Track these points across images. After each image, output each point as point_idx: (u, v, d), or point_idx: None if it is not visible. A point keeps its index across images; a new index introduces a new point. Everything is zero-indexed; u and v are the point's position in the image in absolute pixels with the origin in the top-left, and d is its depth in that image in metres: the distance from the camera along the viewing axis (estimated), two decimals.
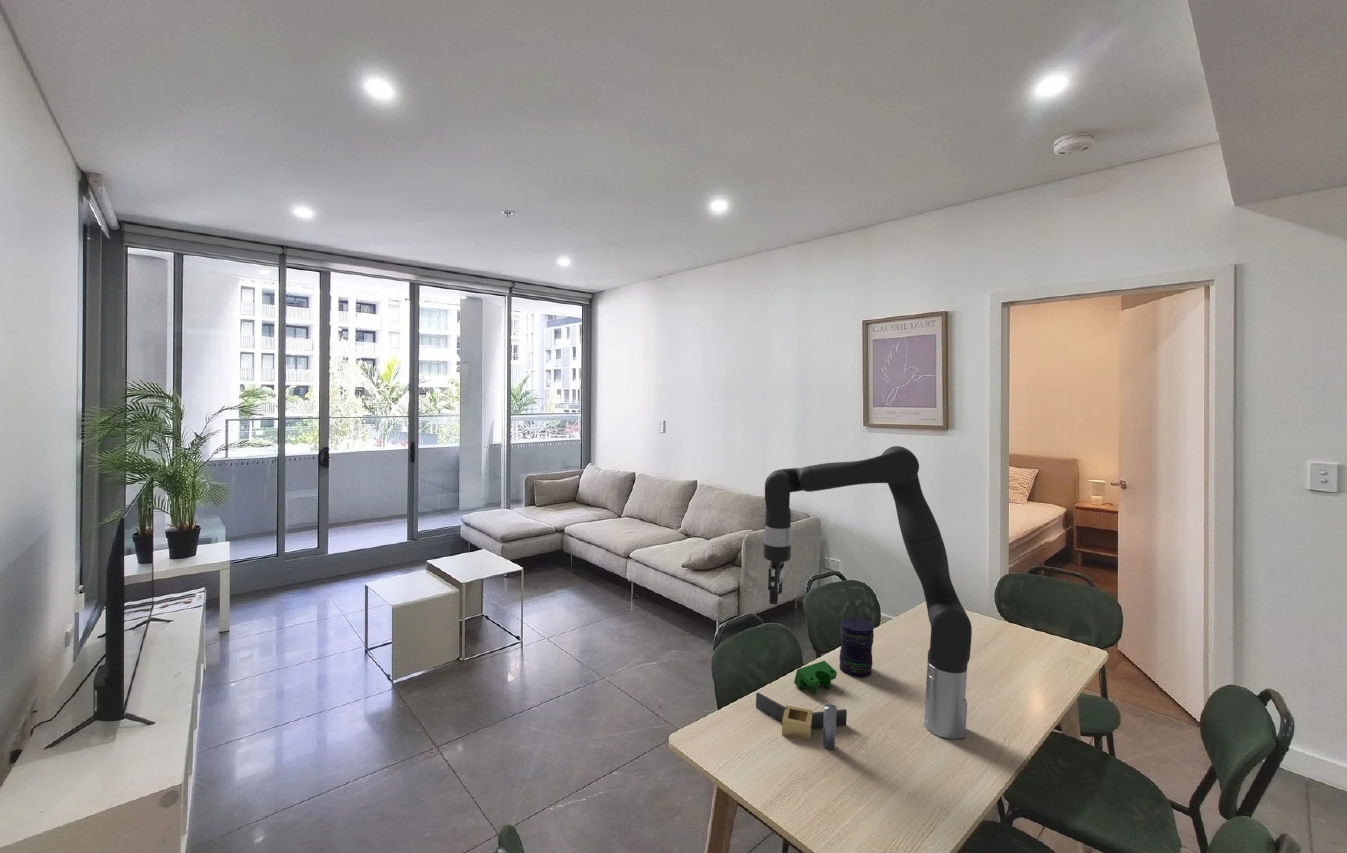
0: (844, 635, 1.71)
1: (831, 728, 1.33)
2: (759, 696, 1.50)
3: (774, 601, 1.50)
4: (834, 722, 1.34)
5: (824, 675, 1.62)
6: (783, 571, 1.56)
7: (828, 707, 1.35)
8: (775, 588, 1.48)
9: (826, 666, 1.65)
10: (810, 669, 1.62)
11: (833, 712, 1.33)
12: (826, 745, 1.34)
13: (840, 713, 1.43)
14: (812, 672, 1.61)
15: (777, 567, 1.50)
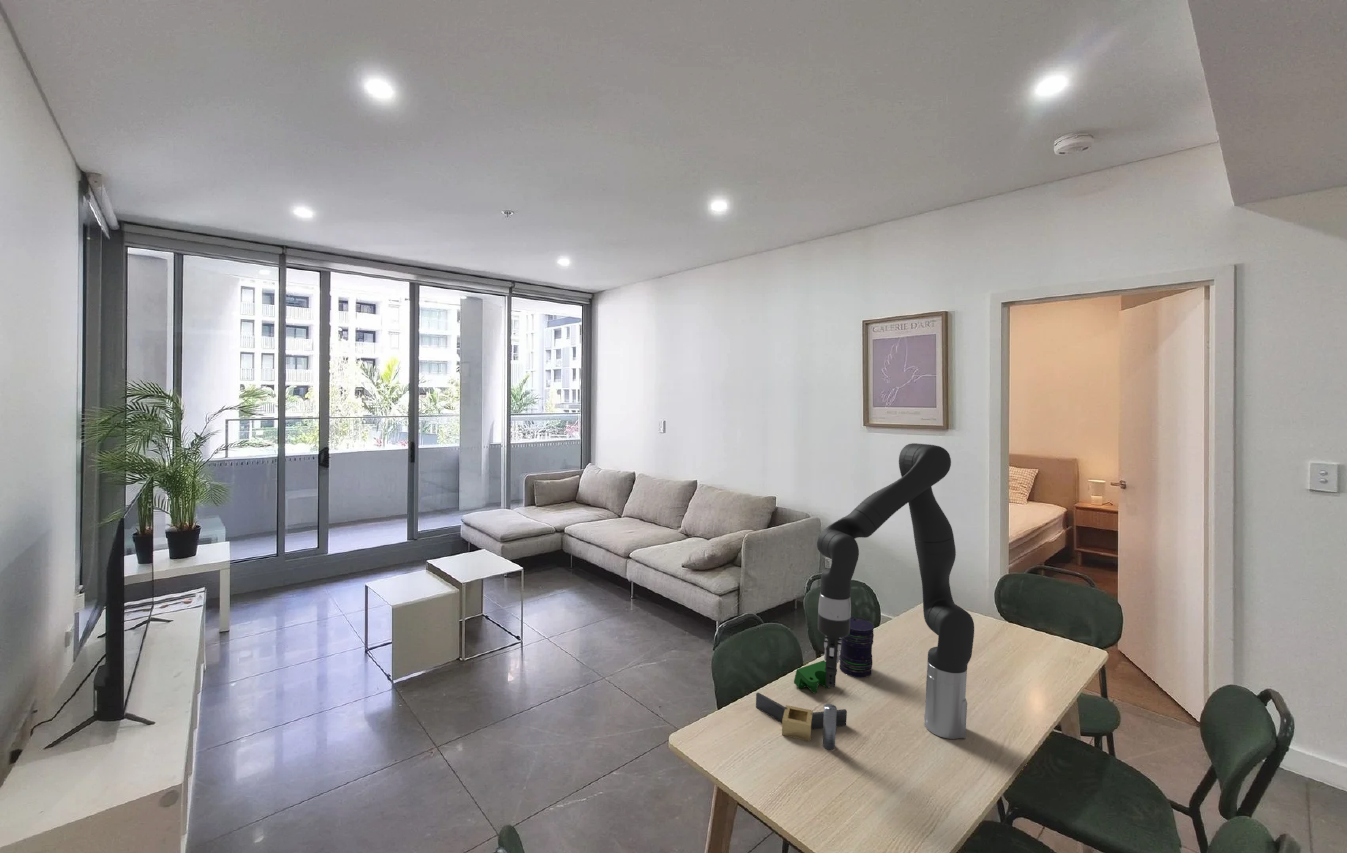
0: None
1: (831, 728, 1.33)
2: (759, 696, 1.50)
3: (832, 684, 1.29)
4: (834, 722, 1.34)
5: (824, 675, 1.62)
6: None
7: (828, 707, 1.35)
8: (834, 670, 1.27)
9: None
10: (810, 669, 1.62)
11: (833, 712, 1.33)
12: (826, 745, 1.34)
13: (840, 713, 1.43)
14: (812, 672, 1.61)
15: (835, 644, 1.30)
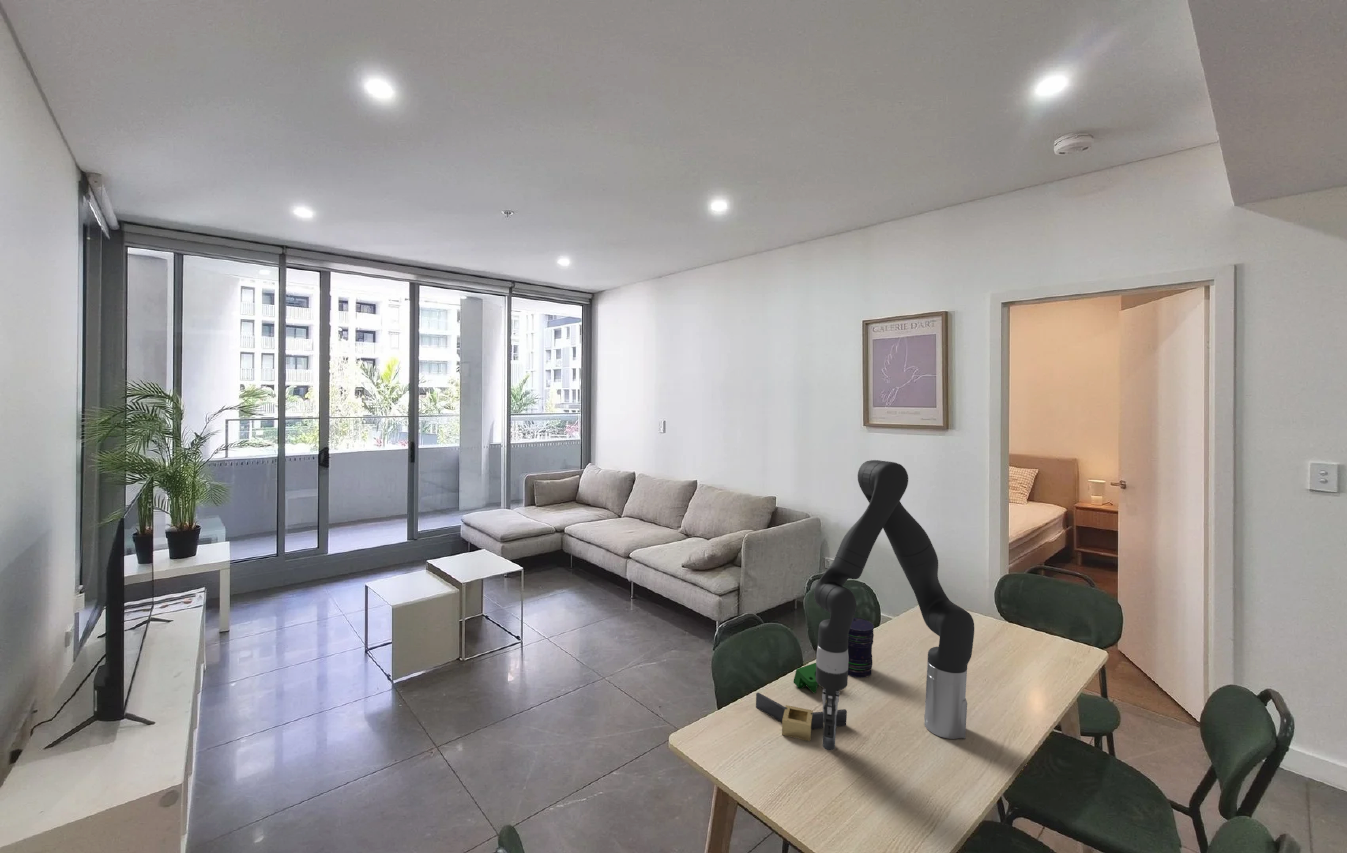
0: None
1: None
2: (759, 696, 1.50)
3: (830, 735, 1.32)
4: None
5: None
6: None
7: None
8: (832, 724, 1.30)
9: None
10: (810, 669, 1.62)
11: None
12: (826, 745, 1.34)
13: (840, 713, 1.43)
14: (812, 671, 1.61)
15: (833, 697, 1.30)
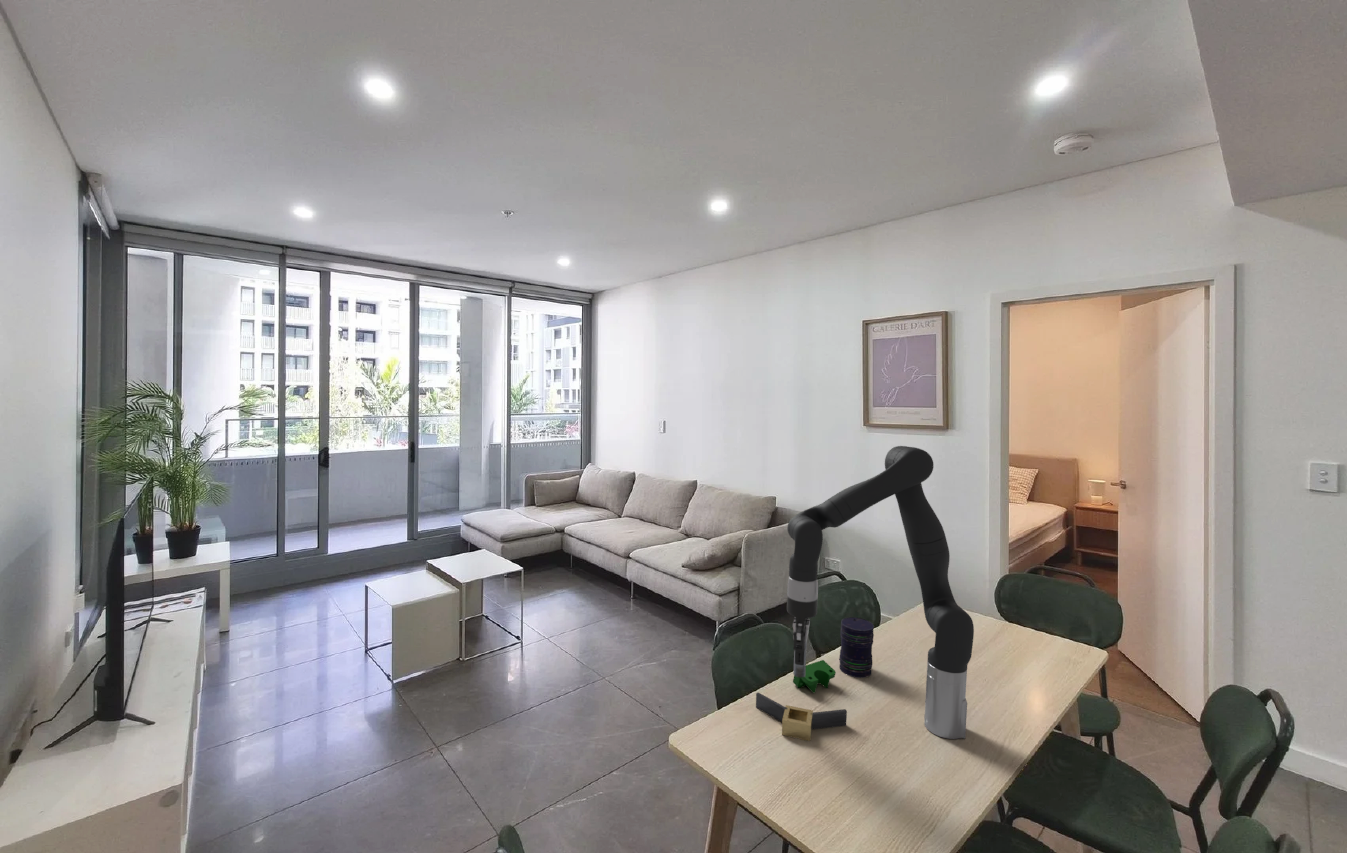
0: (844, 635, 1.71)
1: None
2: (759, 696, 1.50)
3: (800, 662, 1.38)
4: None
5: (823, 674, 1.63)
6: None
7: None
8: (802, 650, 1.35)
9: (825, 665, 1.65)
10: (809, 669, 1.62)
11: None
12: (797, 672, 1.39)
13: (840, 713, 1.43)
14: (811, 671, 1.61)
15: (803, 624, 1.36)
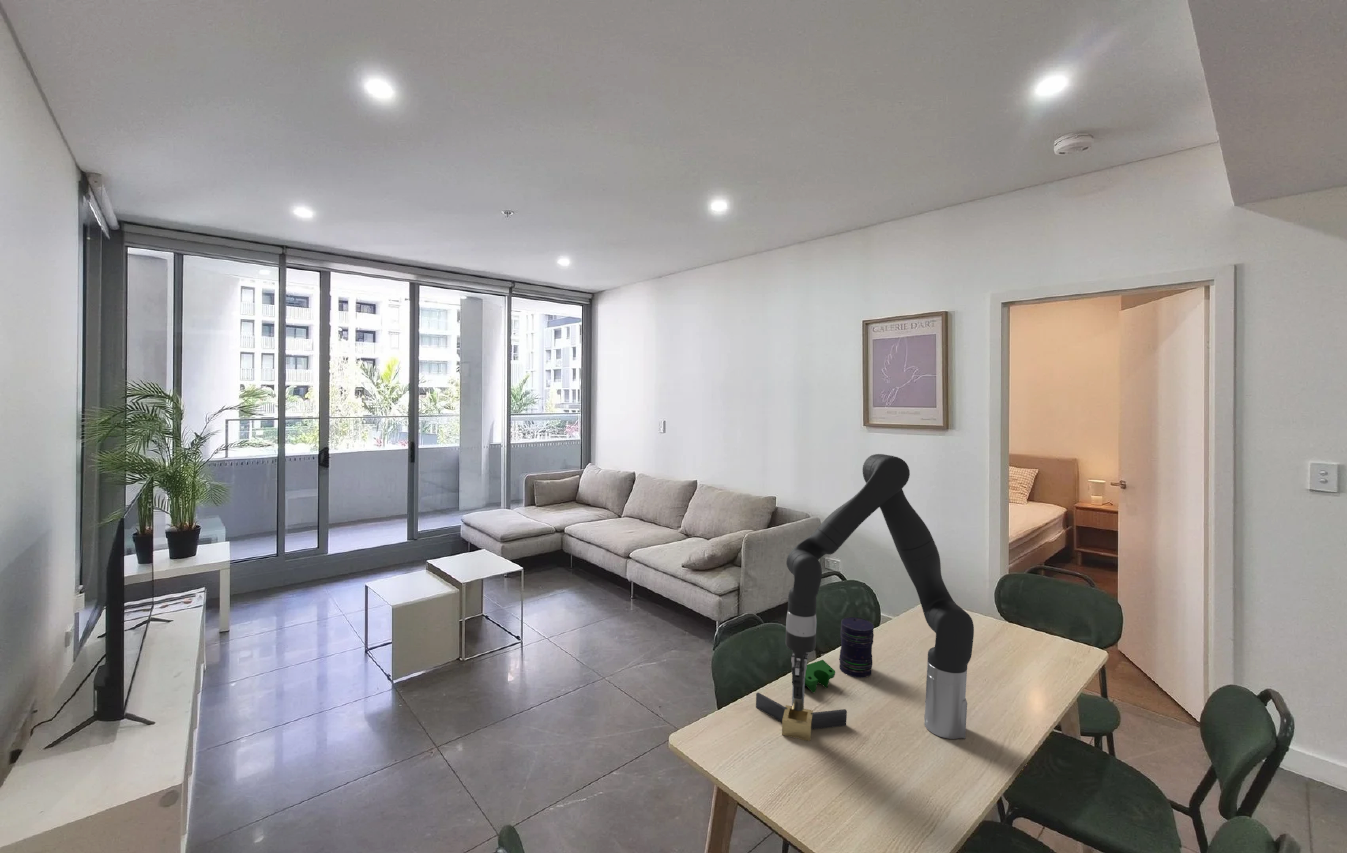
0: (844, 635, 1.71)
1: None
2: (759, 696, 1.50)
3: (798, 696, 1.38)
4: None
5: (822, 674, 1.63)
6: None
7: None
8: (800, 685, 1.36)
9: (825, 665, 1.65)
10: (809, 668, 1.62)
11: None
12: (795, 706, 1.40)
13: (840, 713, 1.43)
14: (811, 671, 1.61)
15: (801, 659, 1.36)
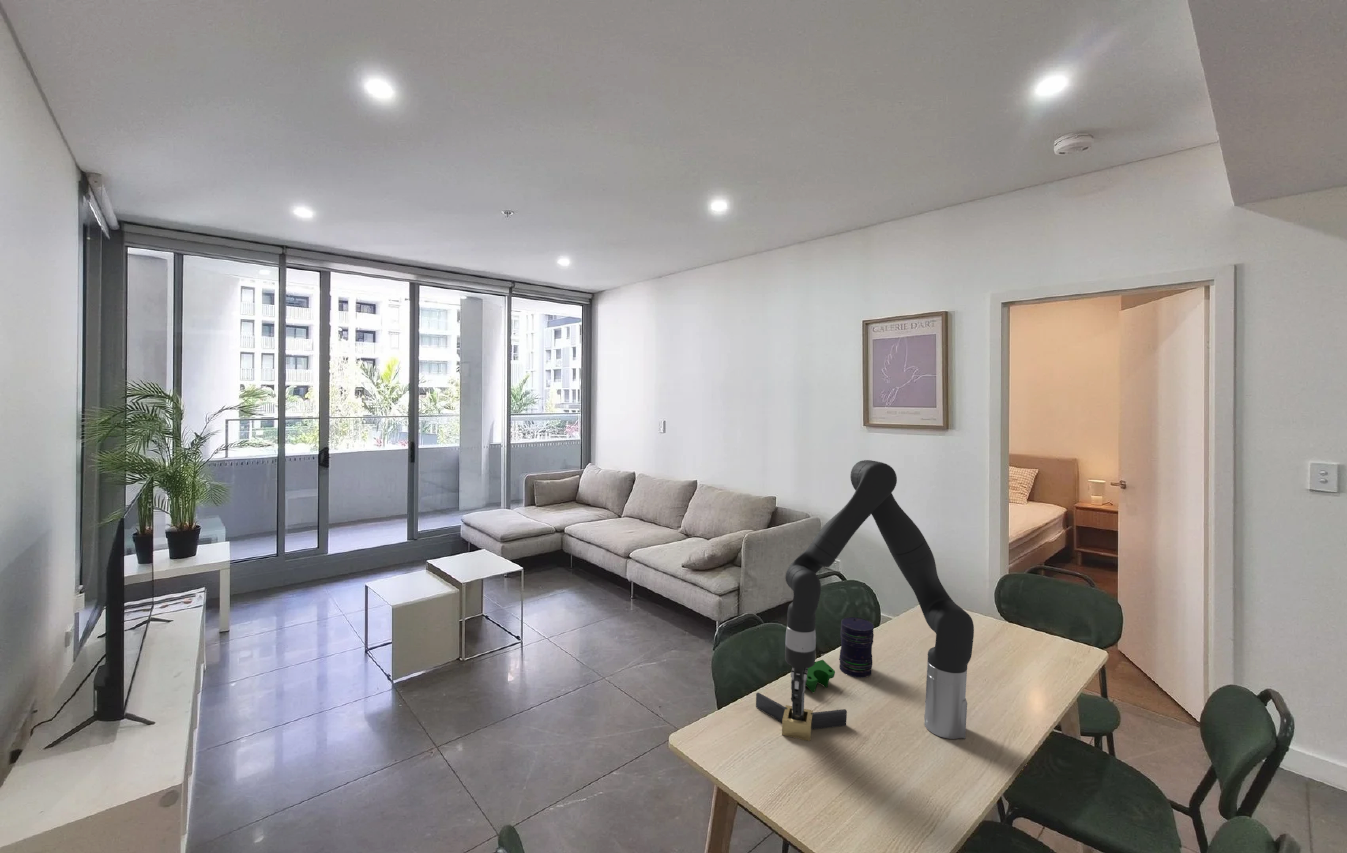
0: (844, 635, 1.71)
1: None
2: (759, 696, 1.50)
3: (798, 712, 1.37)
4: (802, 707, 1.40)
5: (822, 674, 1.63)
6: None
7: None
8: (799, 701, 1.35)
9: (824, 665, 1.65)
10: (808, 668, 1.62)
11: None
12: None
13: (840, 713, 1.43)
14: (810, 671, 1.61)
15: (801, 674, 1.37)
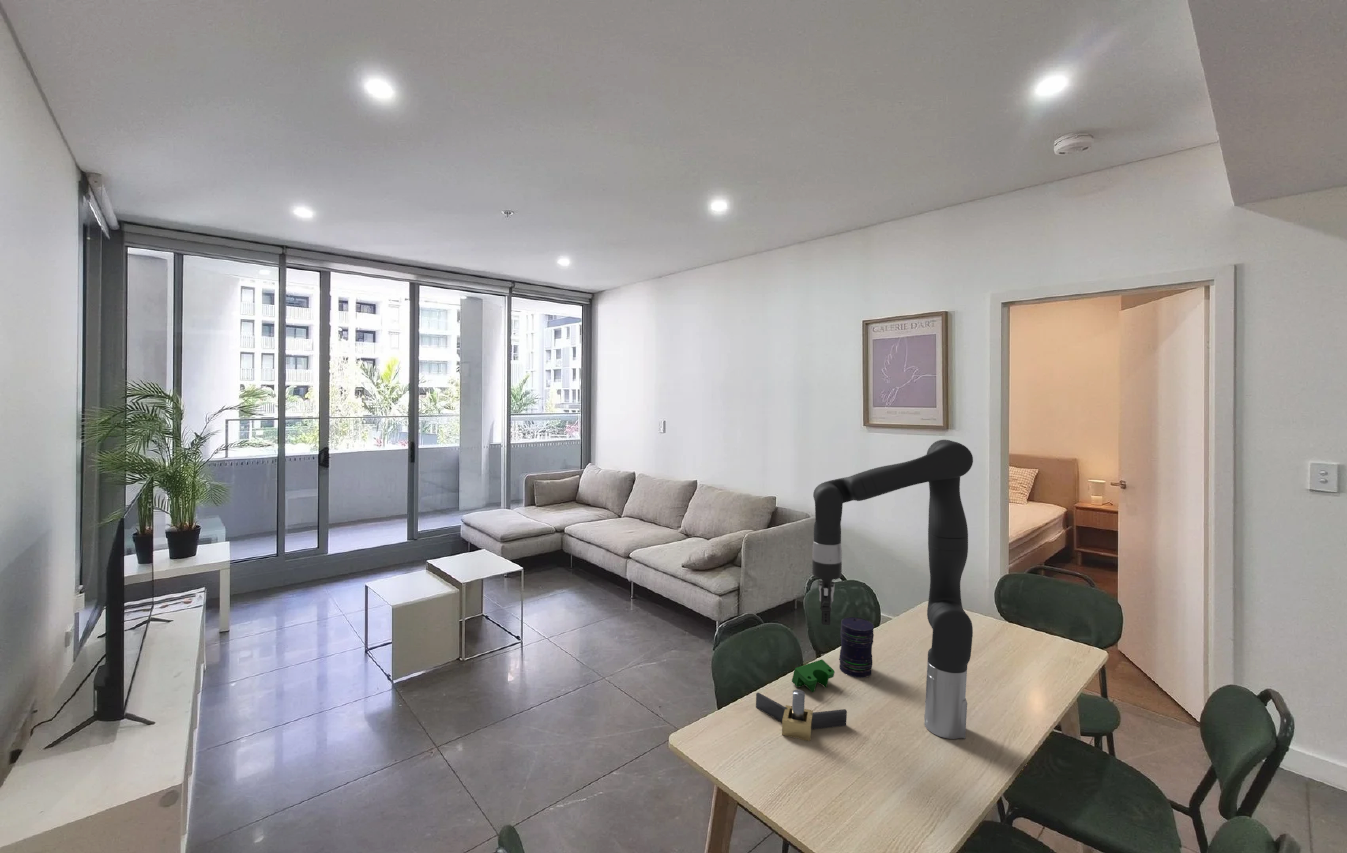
0: (844, 635, 1.71)
1: (799, 713, 1.40)
2: (759, 696, 1.50)
3: (827, 621, 1.42)
4: (802, 707, 1.40)
5: (822, 674, 1.63)
6: None
7: (797, 692, 1.41)
8: (829, 608, 1.40)
9: (824, 664, 1.65)
10: (808, 668, 1.63)
11: (801, 697, 1.40)
12: None
13: (840, 713, 1.43)
14: (810, 671, 1.62)
15: (829, 585, 1.43)
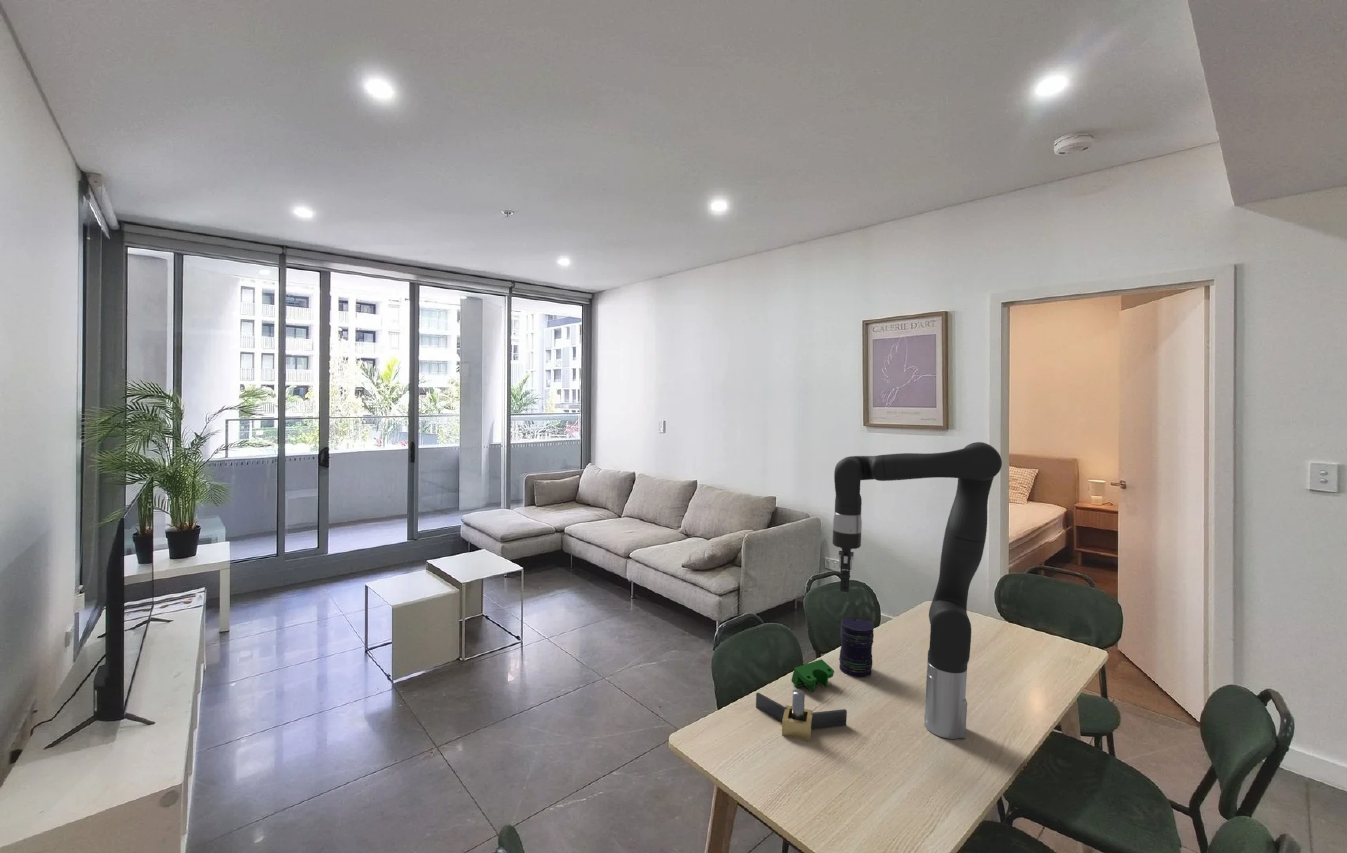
0: (844, 635, 1.71)
1: (799, 713, 1.40)
2: (759, 696, 1.50)
3: (845, 589, 1.48)
4: (802, 706, 1.40)
5: (821, 673, 1.63)
6: None
7: (797, 692, 1.41)
8: (848, 575, 1.46)
9: (823, 664, 1.65)
10: (808, 668, 1.63)
11: (801, 697, 1.40)
12: None
13: (840, 713, 1.43)
14: (810, 670, 1.62)
15: (848, 554, 1.49)
